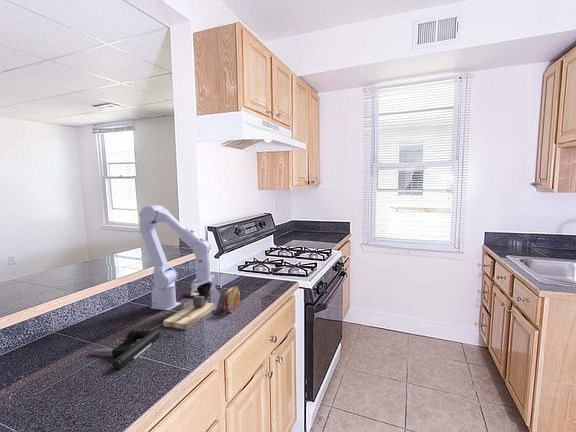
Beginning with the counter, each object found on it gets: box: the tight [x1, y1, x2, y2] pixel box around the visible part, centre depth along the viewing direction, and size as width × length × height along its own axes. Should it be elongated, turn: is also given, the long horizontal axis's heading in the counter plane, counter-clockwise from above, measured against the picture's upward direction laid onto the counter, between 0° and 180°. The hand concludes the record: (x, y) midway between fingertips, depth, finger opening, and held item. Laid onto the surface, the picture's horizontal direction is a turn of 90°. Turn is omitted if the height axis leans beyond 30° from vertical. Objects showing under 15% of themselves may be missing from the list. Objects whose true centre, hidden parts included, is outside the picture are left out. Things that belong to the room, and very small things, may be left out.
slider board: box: [163, 302, 216, 330], centre depth 123 cm, size 10×20×2 cm, turn 163°
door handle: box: [91, 329, 161, 370], centre depth 98 cm, size 3×20×16 cm
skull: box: [185, 278, 212, 298], centre depth 148 cm, size 12×10×10 cm
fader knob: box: [192, 295, 207, 307], centre depth 128 cm, size 4×3×4 cm
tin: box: [222, 285, 242, 313], centre depth 130 cm, size 15×3×8 cm, turn 168°
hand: (204, 300), depth 132 cm, fingers closed
